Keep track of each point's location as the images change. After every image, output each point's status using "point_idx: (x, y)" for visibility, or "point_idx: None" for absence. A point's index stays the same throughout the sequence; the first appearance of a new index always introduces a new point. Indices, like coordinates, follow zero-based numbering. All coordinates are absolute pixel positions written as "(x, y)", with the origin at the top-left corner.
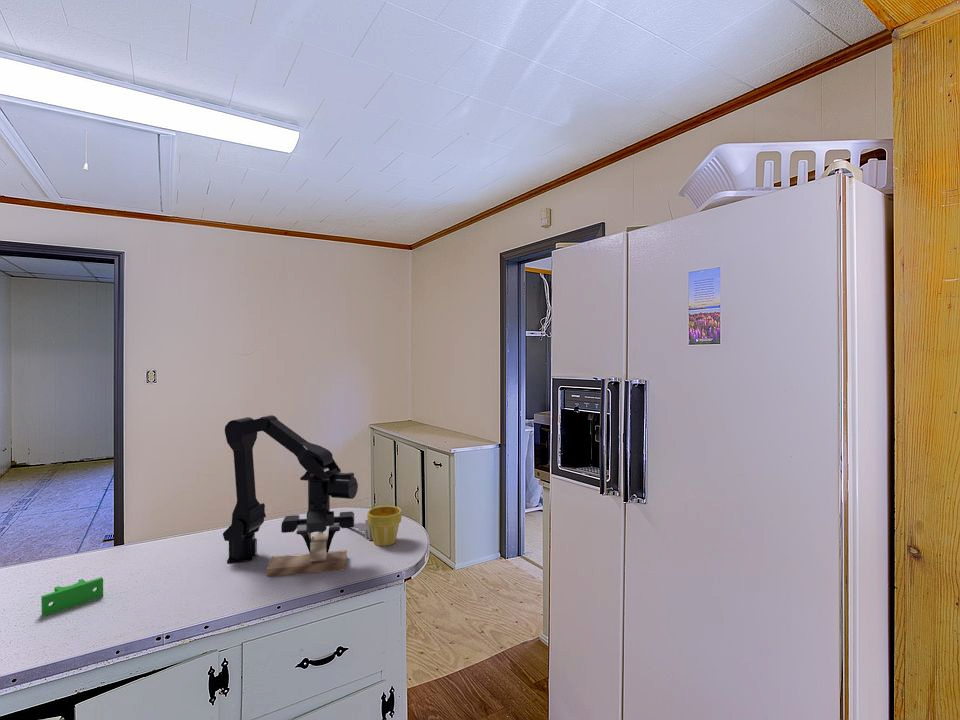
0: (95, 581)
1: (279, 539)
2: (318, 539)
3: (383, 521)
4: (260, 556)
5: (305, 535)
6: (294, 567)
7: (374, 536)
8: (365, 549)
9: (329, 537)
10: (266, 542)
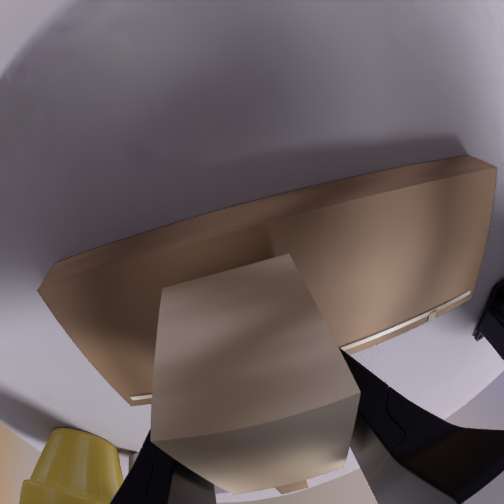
0: None
1: None
2: (274, 456)
3: (38, 502)
4: (470, 319)
5: (444, 452)
6: (383, 189)
7: (92, 461)
8: (105, 419)
9: (152, 483)
10: (441, 384)
